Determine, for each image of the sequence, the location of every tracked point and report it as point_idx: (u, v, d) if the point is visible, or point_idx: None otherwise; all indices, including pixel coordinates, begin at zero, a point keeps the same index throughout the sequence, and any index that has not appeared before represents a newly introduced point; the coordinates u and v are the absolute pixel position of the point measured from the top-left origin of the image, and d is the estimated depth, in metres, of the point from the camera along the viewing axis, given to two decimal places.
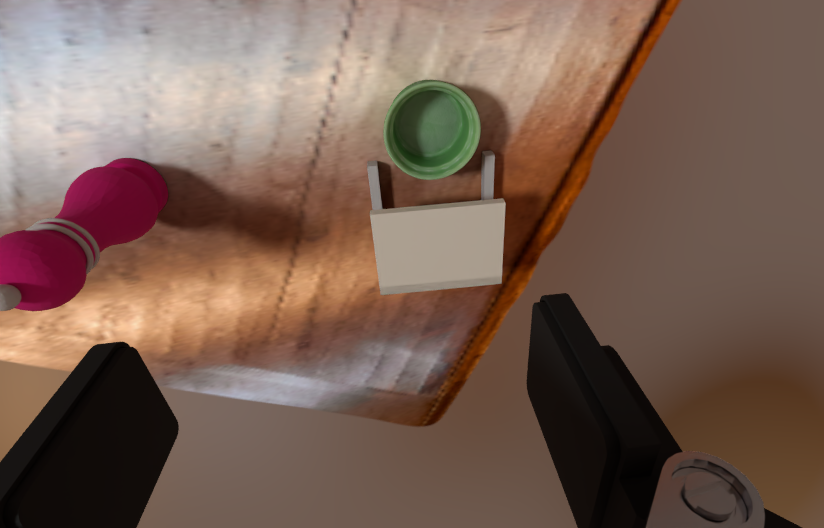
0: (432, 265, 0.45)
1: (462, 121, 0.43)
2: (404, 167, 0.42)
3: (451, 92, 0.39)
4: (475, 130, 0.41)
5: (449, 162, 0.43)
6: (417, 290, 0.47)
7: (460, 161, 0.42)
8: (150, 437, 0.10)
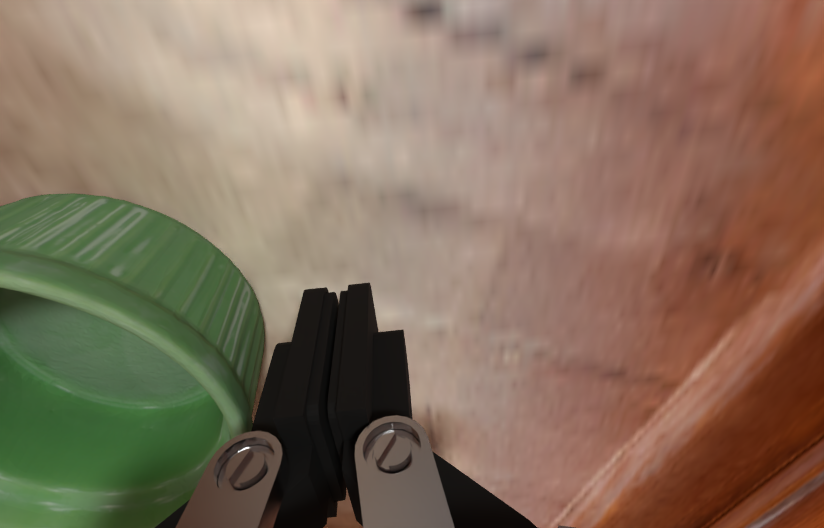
0: None
1: (159, 411, 0.14)
2: None
3: None
4: (116, 527, 0.12)
5: None
6: None
7: None
8: None
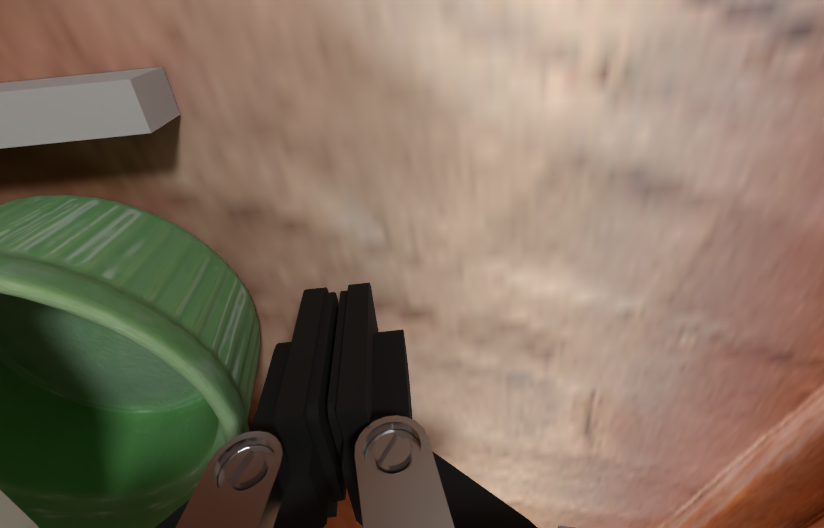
0: None
1: (153, 416, 0.14)
2: None
3: None
4: None
5: None
6: None
7: None
8: None
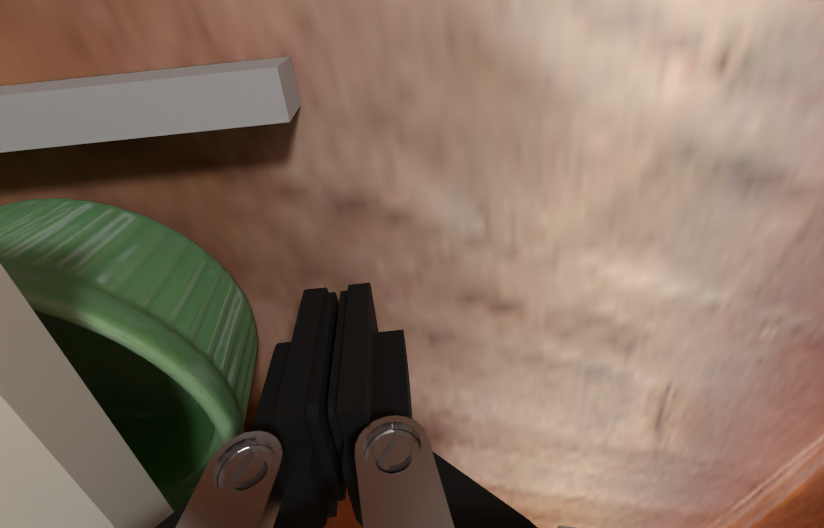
0: None
1: (149, 420, 0.14)
2: None
3: None
4: None
5: None
6: None
7: None
8: None
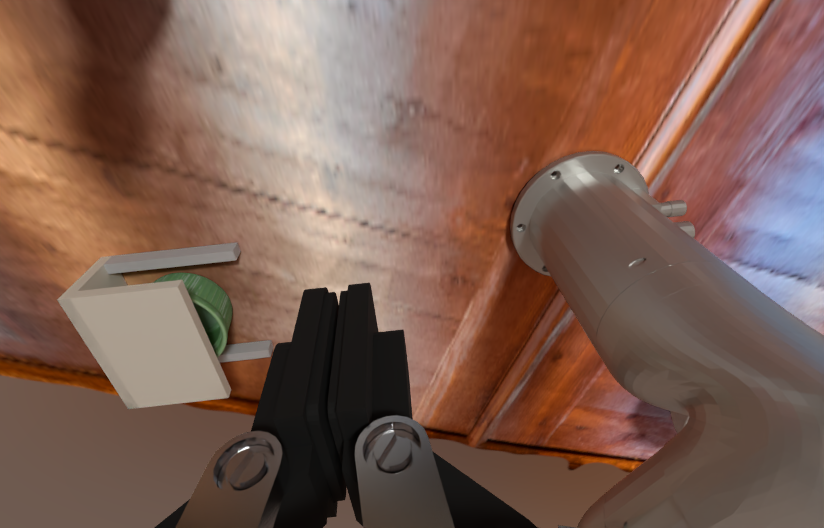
0: (128, 348, 0.38)
1: None
2: None
3: (220, 339, 0.42)
4: None
5: None
6: (83, 337, 0.37)
7: None
8: None
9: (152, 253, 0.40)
